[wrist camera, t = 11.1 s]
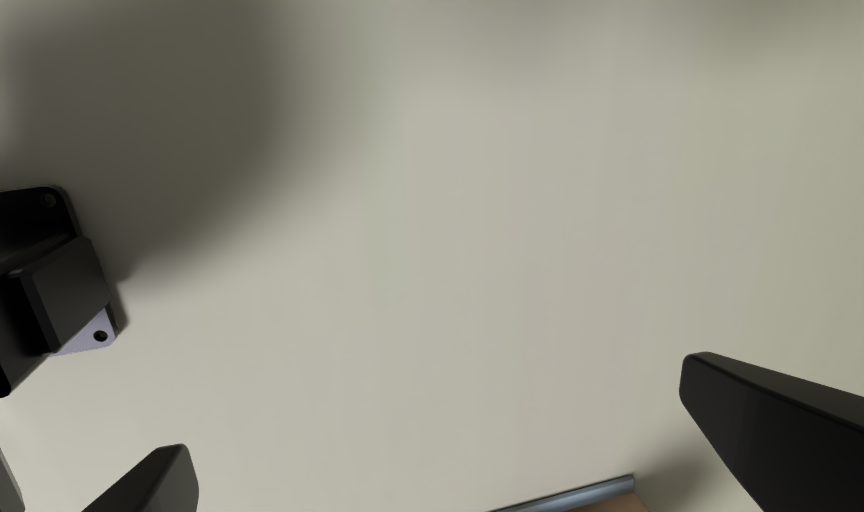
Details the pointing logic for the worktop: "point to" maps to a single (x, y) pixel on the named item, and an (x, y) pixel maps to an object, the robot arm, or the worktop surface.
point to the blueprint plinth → (590, 499)
